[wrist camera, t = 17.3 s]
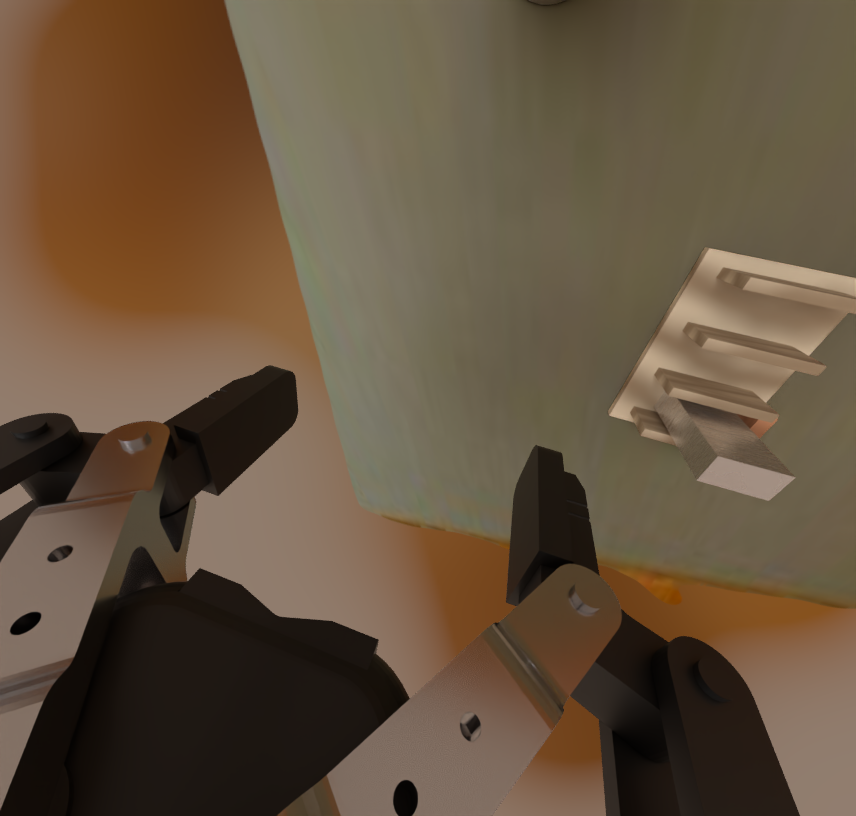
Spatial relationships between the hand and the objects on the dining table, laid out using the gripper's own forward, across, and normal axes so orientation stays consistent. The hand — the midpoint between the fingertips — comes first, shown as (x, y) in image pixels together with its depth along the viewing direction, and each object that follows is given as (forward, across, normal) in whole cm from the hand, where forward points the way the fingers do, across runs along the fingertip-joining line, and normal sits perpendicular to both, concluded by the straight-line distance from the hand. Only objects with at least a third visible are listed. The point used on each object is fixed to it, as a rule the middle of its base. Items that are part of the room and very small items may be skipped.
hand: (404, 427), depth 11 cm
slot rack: (+33, -26, +4) cm, 42 cm away
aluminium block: (+32, -26, +10) cm, 43 cm away
